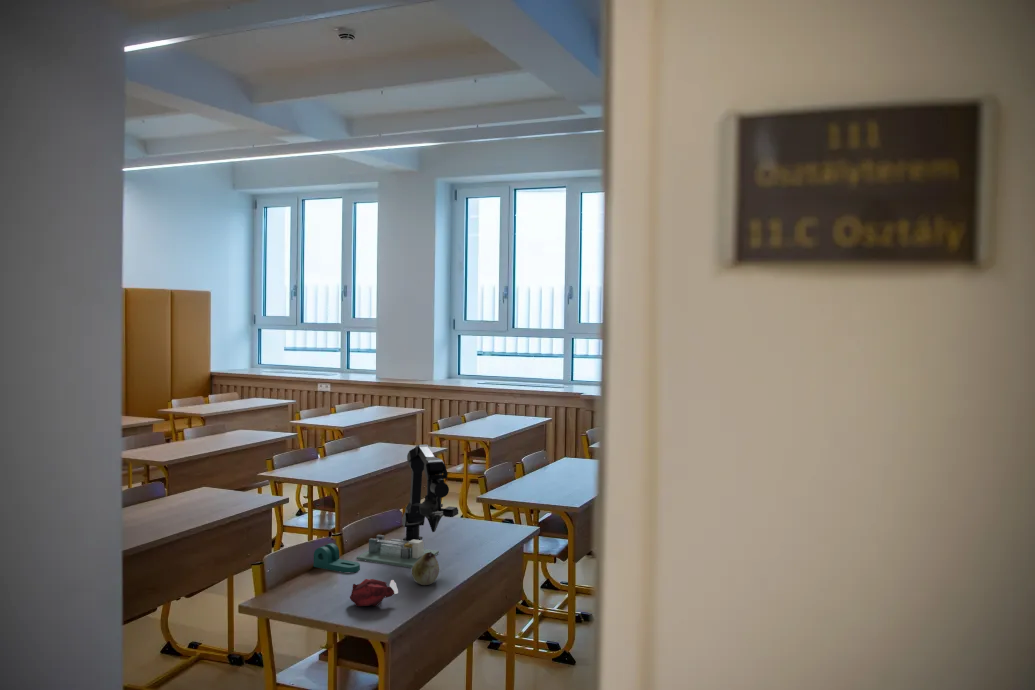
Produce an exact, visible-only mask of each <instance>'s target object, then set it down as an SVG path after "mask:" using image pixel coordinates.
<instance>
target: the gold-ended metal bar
mask: <svg viewBox="0 0 1035 690" xmlns="http://www.w3.org/2000/svg"><path fill="white" fill-rule="evenodd" d="M377 544H386V545H394V546H401V547H410V548H412V546H413V544H408V543H405V542H397V541H391V540H388V539H384V540H381V539H380V538H377Z"/></svg>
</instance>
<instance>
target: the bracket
mask: <svg viewBox="0 0 1035 690" xmlns="http://www.w3.org/2000/svg"><path fill="white" fill-rule="evenodd" d="M313 567H314V568H318V569H319V568H320V569H323V570H328V571H329V570H330V571H334V570H335V572H339V571H341V572H340V573H344V572H354V573H357V571H358V572H359V571H360V569H361V568H360V567H361V565H360V562H358V561H353V560H348V559H343V558H342V559H341V558H340V549H339V547H338V545H336V544H335V543H333V542H330V543H328V544H325V545H322V546H320V547H318V548H316V549H315V550H314V552H313Z"/></svg>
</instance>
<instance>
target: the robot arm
mask: <svg viewBox="0 0 1035 690" xmlns="http://www.w3.org/2000/svg"><path fill="white" fill-rule="evenodd" d="M406 457H407V458H406V459H407V460H406V461H407V463H408V464H407V465H408V466H409V468H410V469H411V475H410V491H409V501H408V502H409V503H407V505H406V506H405V512H404V513H403V516H402V517H401V524H402V526H403V527H404V528H405V537H403V538H402V540H404V541H411V540H413V539H415V540H419V539H420V540H422V539H423V538H424V537H423V536H420V527H421V526H424V525H425V518H426V519H427V521H428V524H429V527H430V530H431V532H432V533H435V532H436V530H437V528H438V525H439V522H440V521H441V519H442V517H443V516H444V518H446V517H447V518H454V517H456V516H458V515H459V508H458V507H457V506H447V507H445V508H443V506H444V503H442V498H445V497H446V496H447V495H448V494H449V493H450V487H449V485H448V484H447V483H445V480H447V479H448V475H449V474H448V469H447V466H446V464H445V462H444V461H443V459H441V458H440V457H435V455H434V453H433V452H432V451H431V449H430V446H429V444H417V445H415V447H414V448H411V449H409V451H408V453H407V455H406ZM423 472H424V474H425V479H426V495H425V496H424V501H423V502H421V498H422V485H423V484H422V483H423V482H422V481H423ZM421 538H422V539H421Z"/></svg>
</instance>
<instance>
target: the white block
mask: <svg viewBox="0 0 1035 690" xmlns="http://www.w3.org/2000/svg"><path fill="white" fill-rule="evenodd" d="M408 544H413V546H412V558H417V559H418V558H419V557H421V556H423V555H424V549H425V547H424V546H425V543H424V540H422V539H420V540H415V539H413V540H411V541H409V542H408Z"/></svg>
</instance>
